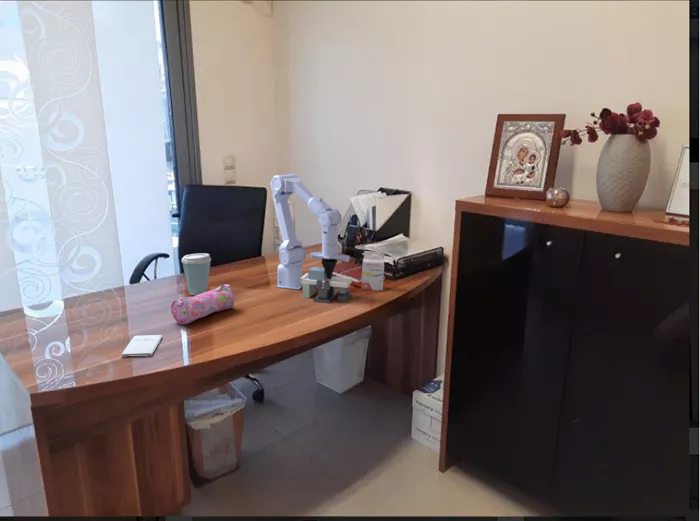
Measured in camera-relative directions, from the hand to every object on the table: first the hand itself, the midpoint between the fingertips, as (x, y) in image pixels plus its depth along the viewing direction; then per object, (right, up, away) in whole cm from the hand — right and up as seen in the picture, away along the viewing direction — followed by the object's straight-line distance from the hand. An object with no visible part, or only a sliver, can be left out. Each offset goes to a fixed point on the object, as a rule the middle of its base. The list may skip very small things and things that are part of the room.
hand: (329, 278), depth 186 cm
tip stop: (+6, -8, +1) cm, 9 cm away
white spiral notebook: (-52, -19, -42) cm, 70 cm away
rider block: (-4, 0, +1) cm, 5 cm away
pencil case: (-41, -12, -18) cm, 47 cm away
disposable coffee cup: (-50, -6, +3) cm, 50 cm away
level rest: (-8, -6, +4) cm, 11 cm away
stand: (-1, -7, +2) cm, 7 cm away
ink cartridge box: (+17, -5, +13) cm, 22 cm away
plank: (-1, -2, +1) cm, 3 cm away
